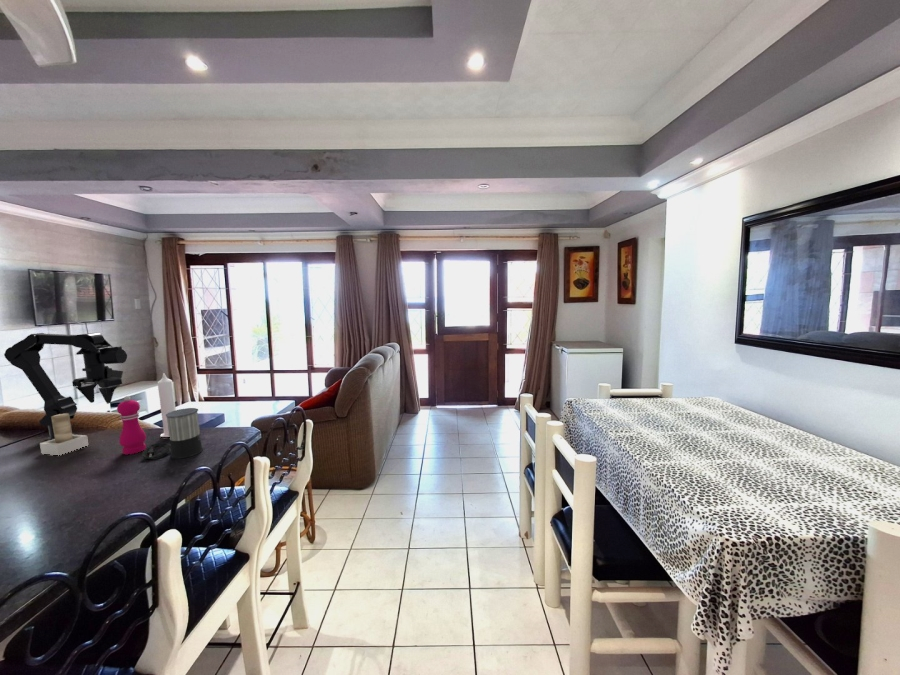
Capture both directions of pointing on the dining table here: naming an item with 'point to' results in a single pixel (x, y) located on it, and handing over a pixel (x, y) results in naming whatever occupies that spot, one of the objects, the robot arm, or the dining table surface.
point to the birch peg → (62, 428)
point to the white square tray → (64, 445)
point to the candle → (166, 401)
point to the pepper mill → (131, 427)
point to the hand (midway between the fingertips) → (100, 402)
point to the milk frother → (179, 435)
